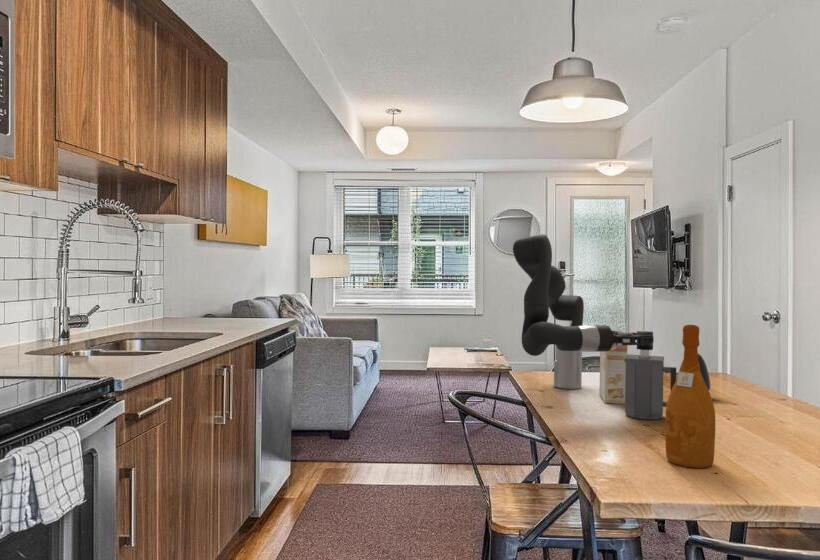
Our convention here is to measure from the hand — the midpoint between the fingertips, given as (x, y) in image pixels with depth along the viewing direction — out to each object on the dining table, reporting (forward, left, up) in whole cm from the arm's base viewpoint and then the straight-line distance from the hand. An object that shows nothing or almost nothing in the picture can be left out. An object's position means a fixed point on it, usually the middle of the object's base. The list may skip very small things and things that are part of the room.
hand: (644, 337), depth 174 cm
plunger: (0, 0, -21) cm, 21 cm away
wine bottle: (+12, -42, -23) cm, 49 cm away
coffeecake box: (-11, +21, -23) cm, 33 cm away
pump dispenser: (+13, +36, -23) cm, 45 cm away
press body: (+2, 0, -23) cm, 23 cm away
